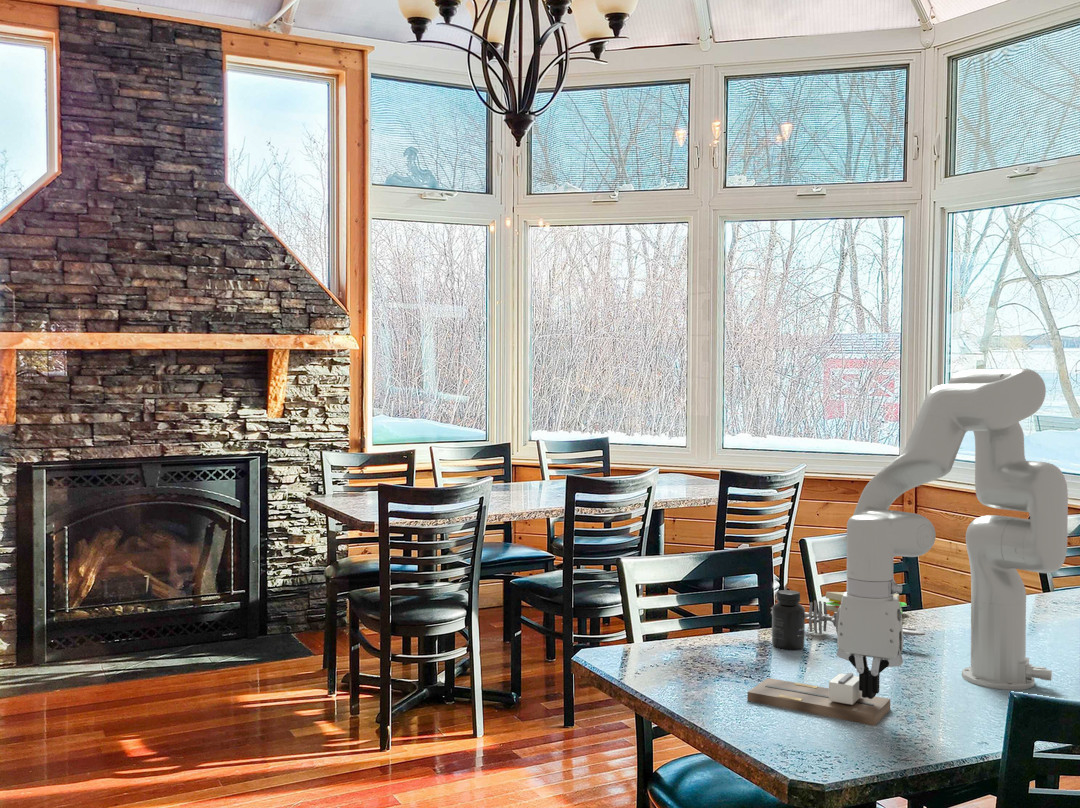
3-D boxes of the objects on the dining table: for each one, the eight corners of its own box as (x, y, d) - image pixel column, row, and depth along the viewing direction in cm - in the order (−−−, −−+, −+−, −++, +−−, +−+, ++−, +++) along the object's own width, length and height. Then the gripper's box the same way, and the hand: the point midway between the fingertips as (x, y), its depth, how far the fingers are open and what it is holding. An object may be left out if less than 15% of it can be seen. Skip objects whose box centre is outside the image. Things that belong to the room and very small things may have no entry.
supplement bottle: (808, 651, 204) (808, 595, 204) (775, 651, 205) (776, 595, 204) (800, 643, 211) (800, 588, 211) (768, 643, 211) (769, 588, 211)
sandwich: (841, 604, 252) (842, 585, 252) (917, 615, 239) (917, 595, 239) (815, 614, 240) (815, 594, 240) (894, 627, 227) (894, 606, 227)
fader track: (890, 710, 167) (890, 698, 167) (874, 727, 159) (874, 714, 159) (767, 688, 179) (767, 677, 179) (747, 703, 171) (747, 691, 171)
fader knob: (862, 695, 168) (862, 674, 168) (852, 704, 163) (852, 683, 163) (839, 691, 170) (839, 671, 170) (828, 700, 165) (828, 679, 165)
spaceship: (918, 656, 201) (919, 618, 201) (764, 629, 223) (764, 595, 223) (931, 648, 207) (931, 611, 207) (779, 623, 230) (779, 590, 229)
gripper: (921, 589, 163) (920, 698, 163) (832, 580, 171) (831, 683, 171) (910, 597, 156) (910, 710, 157) (819, 587, 165) (818, 694, 165)
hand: (869, 696), depth 164 cm, fingers closed
